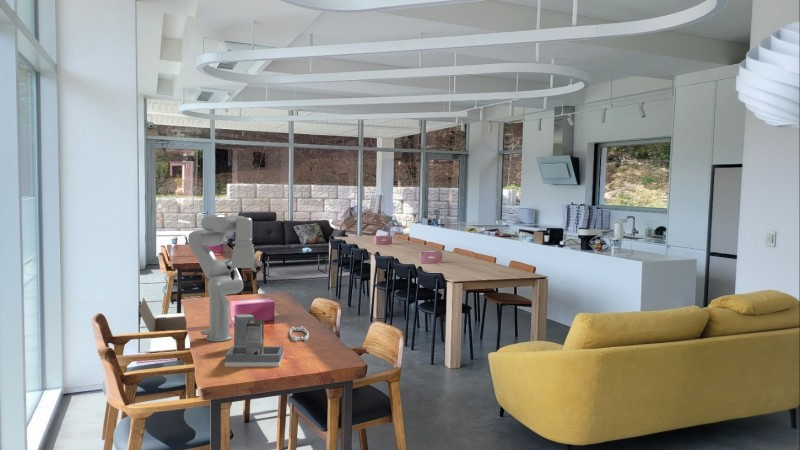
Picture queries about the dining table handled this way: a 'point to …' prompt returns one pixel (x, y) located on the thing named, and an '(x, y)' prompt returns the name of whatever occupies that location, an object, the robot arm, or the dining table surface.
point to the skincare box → (241, 329)
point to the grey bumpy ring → (299, 337)
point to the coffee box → (255, 337)
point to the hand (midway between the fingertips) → (243, 279)
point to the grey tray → (253, 357)
